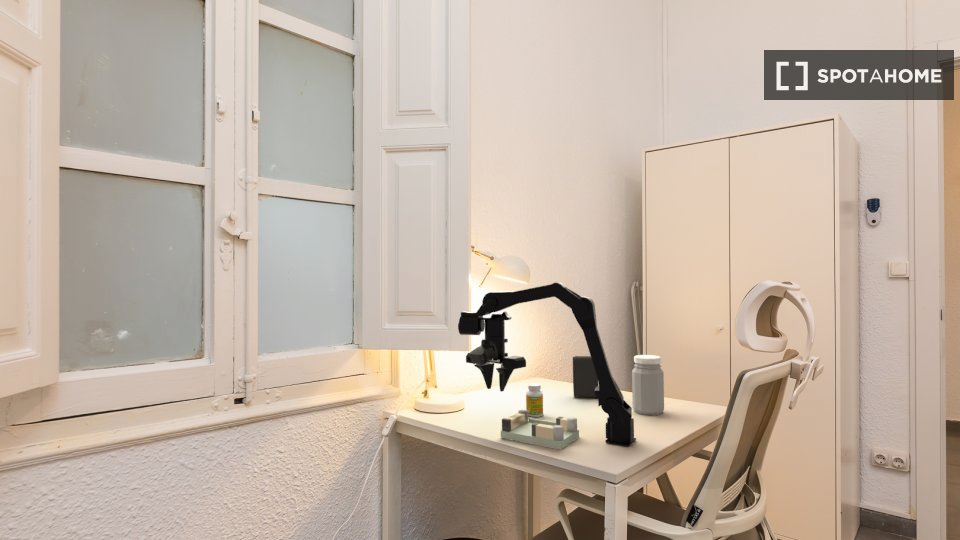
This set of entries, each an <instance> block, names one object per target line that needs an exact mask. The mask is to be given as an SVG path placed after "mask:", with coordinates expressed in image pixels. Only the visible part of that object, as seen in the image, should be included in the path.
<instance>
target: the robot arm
mask: <svg viewBox="0 0 960 540" xmlns="http://www.w3.org/2000/svg"><path fill="white" fill-rule="evenodd" d="M549 298H556V299H558V300H559V301H560V302H562V304H564V305H565V306H567V307H568V308H569V309H571V312H572V314H573V317H575V319H576V322H577V323H578V326H580V329H581V330H582V332H583V336H584V338H585V339H584V340H585V342H586V345H587V348H588V352H589V354H590V355H589V356H591V358H592V362H593V365H594V368H595V371H596V375H597V378H598V387H596V388H595V391H594V392H595V395H596V397H597V398H596V399H597V402H598V403H597V404H598V407H600V406H601V407H600V408H601V409H602V411H603V412H604V413H606V414H607V415H608V417H607V418H606V421H607V422H605V438H606V439H605V443H608V444H610V445H611V444H613V445H619V446H623V447H631V446H632V445H633V444H634V443H635V442H636V441H637V438H636V437H635V419H634V418H632V413H633V412H632V411H633V410H632V409H633V407H632V406H631V405H629V404H628V403H627V401H625V399H624V394H623V393H622V391H621V389H620V387H619V386H618V383H617V382H616V380H615V378H614V377H613V375H612V372H611V368H610V365H609V361H608V358H607V355H606V352H605V348H604V346H603V343H602V339H601V336H600V333H599V329H598V325H597V313H596V305H595V302H594V300H593V299H592V298H591V297H589V296H582V295H580V294H578V293H577V292H575V291H573V290H572V289H571V288H568V287H567V286H565V285H564V284H563V283H562V282H560V281H559V282H553V283H551V284H545V285H541V286H535V287H531V288H525V289H521V290H516V291H493V292H492V291H491V292H488V293H486V294H485V295H484V297H483V298H482V303H481V305H480V306H479V308H478V309H477V311H476V312H475V311H474V312H472V311H471V312H469V311H461V312H460V317H459V319H458V324H457V329H458V333H459V335H460V336H480V335H481V334H482V333H483V332H484V338H482V339H481V341H480V342H481V343H480V345H479V346H477V347H476V348H474V349H472V350H471V351H470V352H468V353H467V354H466V356H465V364H473V366H474V367H475V368H477V369H478V370H479V371H480V373H481V375H482V377H483V380H484V384H485V385H486V389H487V390H490V389H492V385H493V378H494V369H496V371H497V372H498V378H499V379H498V383H499V391H500V392H504V391H505V388H506V387H507V384H508V381H509V379H510V378H511V375H512V374H513V372H514V370H518V369H522V368H526V367H527V360H526V358H525V357H524V356H519V355H511V356H509V352H506V343H508V338H505V334H506V333H505V332H506V331H505V329H506V328H505V325H506V324H505V321H509V320H510V321H511V320H512V319H513V318H512V316H511V315H509V314H508V312H507V311H505V309H508V308H511V307H513V306H516V305H518V304H523V303H529V302H534V301H539V300H544V299H549ZM503 310H504V311H503ZM501 311H503V312H502V313H497V312H501ZM488 315H490V317H487V316H488ZM484 316H485V317H484ZM495 364H498V365H500V366H499V367H496V368H495Z"/></svg>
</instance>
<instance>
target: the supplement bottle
mask: <svg viewBox="0 0 960 540" xmlns="http://www.w3.org/2000/svg"><path fill="white" fill-rule="evenodd" d="M541 386H542V385H541V384H540V383H529V384H528V385H527V388H528V390H527V391H526V393H525V399H526V400H525V402H526V403H525V410H527V411H528V417H533V418H539V417H543V415H544V393H543V391H541V389H542V387H541Z"/></svg>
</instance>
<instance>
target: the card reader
mask: <svg viewBox="0 0 960 540" xmlns="http://www.w3.org/2000/svg"><path fill="white" fill-rule="evenodd" d="M598 386H599V382H598V378H597V375H596V371H595V368H594V365H593V362H592V358H591V355H575V356H572V388H573V389H572V390H573V398H576V399H597V397H596V395H595V392H594V391H595V388H596V387H598Z"/></svg>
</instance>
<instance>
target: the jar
mask: <svg viewBox="0 0 960 540" xmlns="http://www.w3.org/2000/svg"><path fill="white" fill-rule="evenodd" d="M633 362H634V363H635V364H634V365H633V366H634V368H633V369H632V371H631V385H632V386H631V387H632V388H631V389H632V390H631V391H632V395H631V396H632V409H633V410H634V411H635V412H636V413H637V414H640V415H644V416H659V415H661V414H662V413H663V412H664V410H665V381H664V380H665V379H664V376H665V375H664V371H663V369H662V368H661V367H662V365H661V363H662V357H661V356H659V355H654V354H636V355H635V356H633Z"/></svg>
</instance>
